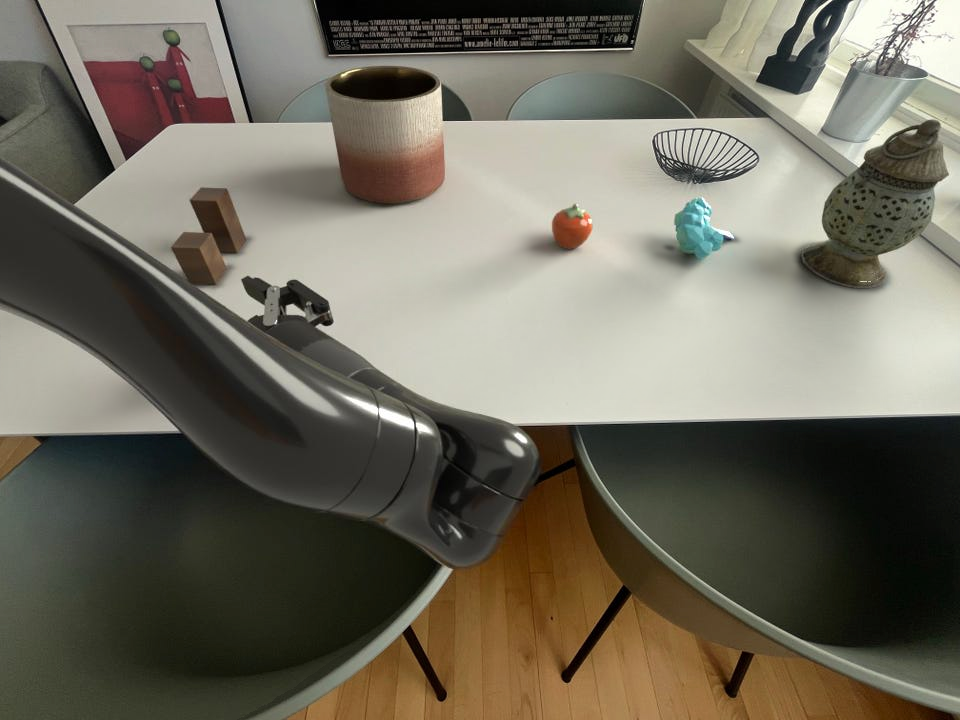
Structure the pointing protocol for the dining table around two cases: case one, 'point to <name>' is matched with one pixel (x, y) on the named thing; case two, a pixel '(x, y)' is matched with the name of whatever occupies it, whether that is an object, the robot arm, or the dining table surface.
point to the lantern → (879, 207)
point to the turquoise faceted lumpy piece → (698, 229)
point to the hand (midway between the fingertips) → (208, 305)
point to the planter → (388, 132)
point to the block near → (199, 258)
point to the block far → (219, 218)
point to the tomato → (571, 227)
